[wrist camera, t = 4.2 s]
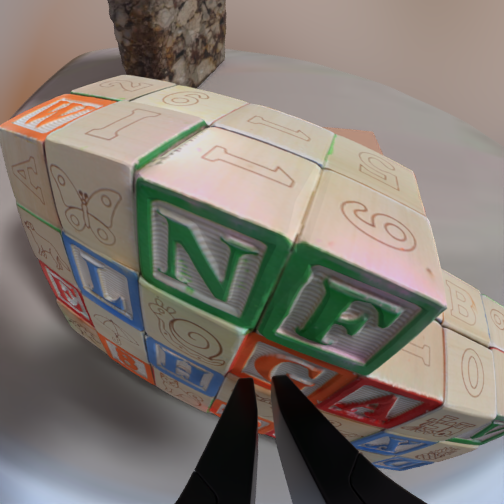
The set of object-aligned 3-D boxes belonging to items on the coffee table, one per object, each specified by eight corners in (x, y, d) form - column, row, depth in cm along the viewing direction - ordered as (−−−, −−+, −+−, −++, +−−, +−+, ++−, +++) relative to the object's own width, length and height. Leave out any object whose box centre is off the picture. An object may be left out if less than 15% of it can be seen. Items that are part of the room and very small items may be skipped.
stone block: (182, 56, 32) (172, -74, 13) (232, 60, 31) (234, -80, 13) (128, 112, 26) (87, -58, 8) (186, 119, 25) (165, -81, 7)
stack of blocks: (412, 388, 16) (553, 272, 8) (400, 472, 12) (588, 390, 3) (126, 259, 18) (123, 69, 10) (67, 327, 14) (-6, 118, 5)
